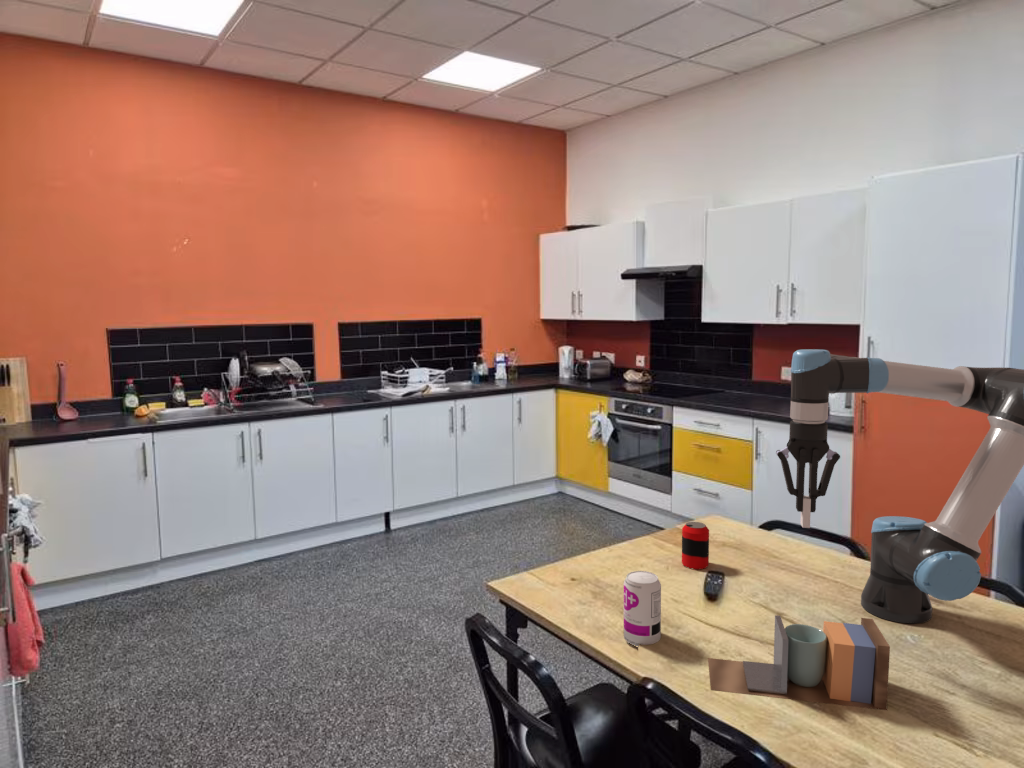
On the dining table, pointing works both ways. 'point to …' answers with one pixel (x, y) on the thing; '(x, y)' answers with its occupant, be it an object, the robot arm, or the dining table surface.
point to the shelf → (733, 680)
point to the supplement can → (642, 608)
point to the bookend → (770, 666)
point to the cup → (806, 654)
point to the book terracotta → (838, 661)
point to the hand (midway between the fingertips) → (805, 525)
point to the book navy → (861, 663)
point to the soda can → (695, 545)
